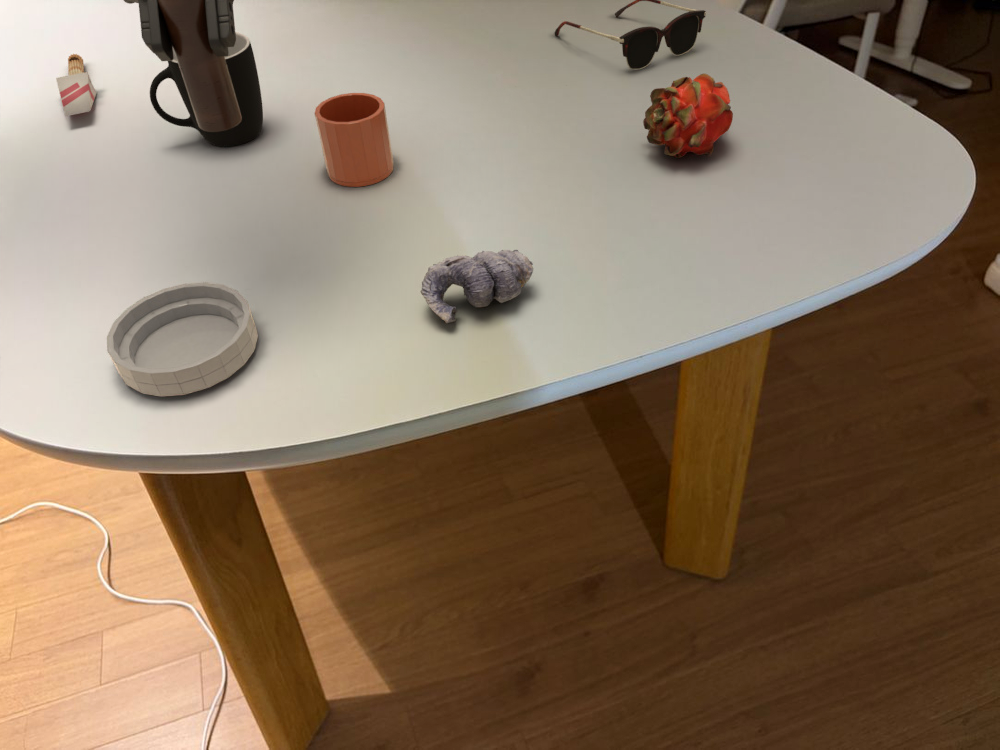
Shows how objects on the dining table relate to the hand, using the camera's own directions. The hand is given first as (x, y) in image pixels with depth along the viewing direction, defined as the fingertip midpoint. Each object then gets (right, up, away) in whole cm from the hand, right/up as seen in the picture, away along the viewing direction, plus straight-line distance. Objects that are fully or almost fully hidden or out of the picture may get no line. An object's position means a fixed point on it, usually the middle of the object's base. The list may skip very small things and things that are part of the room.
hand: (191, 52), depth 55 cm
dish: (-4, -20, +11) cm, 23 cm away
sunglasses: (+37, +22, +53) cm, 68 cm away
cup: (+6, 0, +31) cm, 32 cm away
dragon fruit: (+41, +2, +32) cm, 52 cm away
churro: (-33, +14, +49) cm, 60 cm away
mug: (-11, +6, +38) cm, 41 cm away
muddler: (0, -3, +6) cm, 6 cm away
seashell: (+19, -16, +14) cm, 29 cm away
